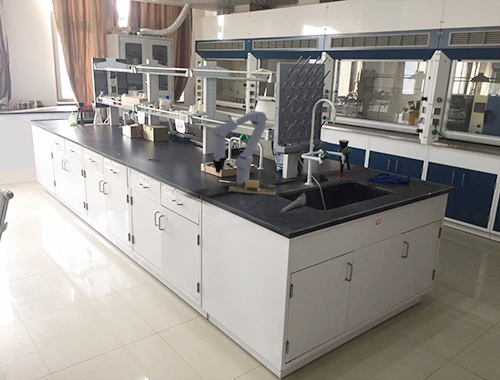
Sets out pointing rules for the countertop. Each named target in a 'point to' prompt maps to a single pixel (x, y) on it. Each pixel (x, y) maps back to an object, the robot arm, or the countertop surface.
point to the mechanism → (241, 188)
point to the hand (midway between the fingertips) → (219, 171)
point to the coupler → (252, 184)
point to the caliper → (296, 202)
